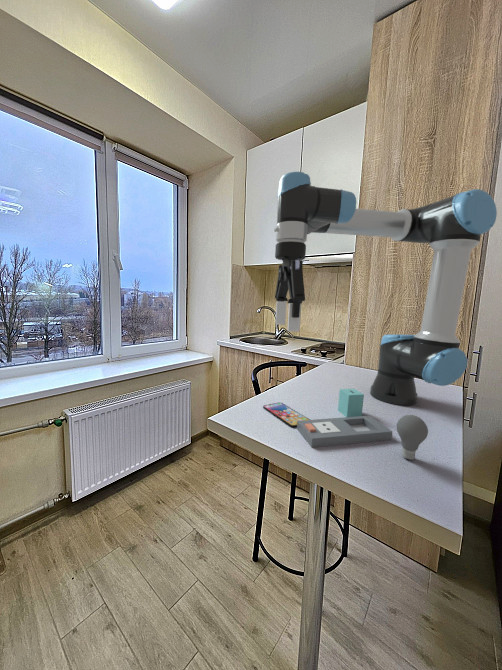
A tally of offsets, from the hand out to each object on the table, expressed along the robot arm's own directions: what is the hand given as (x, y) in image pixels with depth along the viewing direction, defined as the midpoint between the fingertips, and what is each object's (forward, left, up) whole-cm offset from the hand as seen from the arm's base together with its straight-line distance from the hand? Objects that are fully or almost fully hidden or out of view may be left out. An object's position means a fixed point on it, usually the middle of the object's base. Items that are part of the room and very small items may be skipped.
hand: (286, 327), depth 71 cm
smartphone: (-3, -5, -27) cm, 28 cm away
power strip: (-14, +8, -27) cm, 31 cm away
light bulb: (-23, +20, -27) cm, 41 cm away
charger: (-23, -3, -27) cm, 36 cm away
